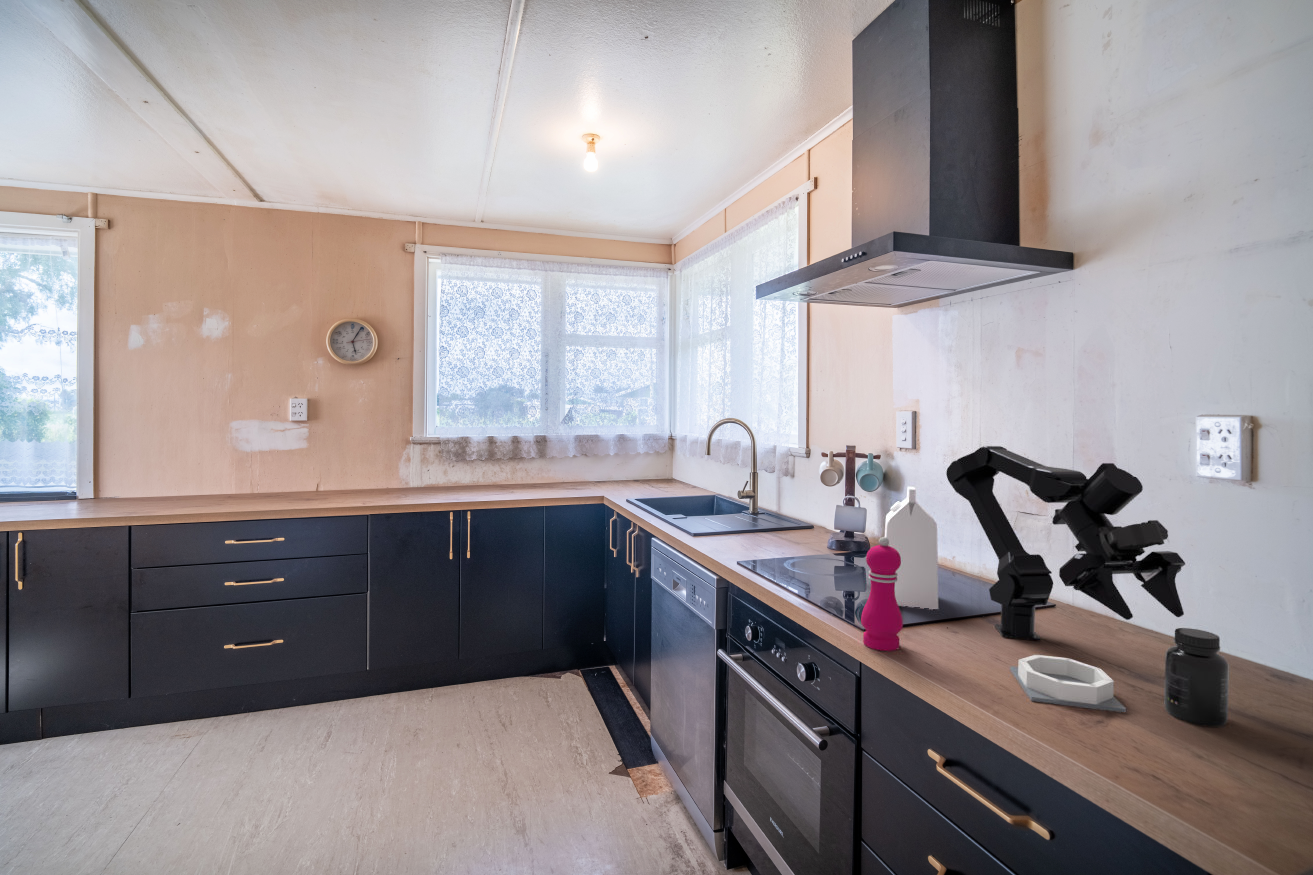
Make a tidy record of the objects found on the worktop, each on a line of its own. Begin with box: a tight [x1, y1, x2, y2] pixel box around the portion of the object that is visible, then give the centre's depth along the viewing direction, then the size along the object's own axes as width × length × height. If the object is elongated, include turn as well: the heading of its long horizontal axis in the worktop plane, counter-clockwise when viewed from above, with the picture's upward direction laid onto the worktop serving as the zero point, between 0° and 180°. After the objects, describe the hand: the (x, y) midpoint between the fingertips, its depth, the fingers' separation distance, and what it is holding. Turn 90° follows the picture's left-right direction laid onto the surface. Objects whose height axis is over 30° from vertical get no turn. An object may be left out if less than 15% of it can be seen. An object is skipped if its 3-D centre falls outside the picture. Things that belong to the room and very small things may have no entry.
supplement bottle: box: [1163, 627, 1230, 728], centre depth 87 cm, size 7×7×12 cm
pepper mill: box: [860, 536, 904, 652], centre depth 113 cm, size 7×7×20 cm
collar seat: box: [1009, 654, 1127, 713], centre depth 95 cm, size 12×12×3 cm
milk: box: [884, 486, 939, 610], centre depth 142 cm, size 12×12×26 cm
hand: (1155, 617), depth 93 cm, fingers open, 9 cm apart
